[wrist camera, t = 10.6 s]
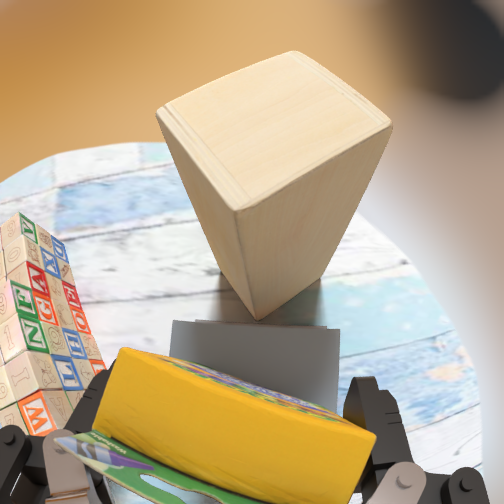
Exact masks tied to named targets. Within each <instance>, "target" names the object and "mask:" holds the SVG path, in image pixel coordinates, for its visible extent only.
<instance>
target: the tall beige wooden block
mask: <svg viewBox="0 0 504 504" xmlns="http://www.w3.org/2000/svg"><path fill="white" fill-rule="evenodd" d="M156 118H157V120H158V123H159V125H160V128H161V131H162V133H163V136H164V138H165V140H166V143H167V145H168V148H169V150H170V153H171V155H172V158H173V160H174V163H175V165H176V167H177V170H178V172H179V175H180V177H181V180H182V182H183V184H184V187H185V189H186V192H187V194H188V196H189V199H190V201H191V203H192V205H193V208H194V210H195V213H196V215H197V217H198V219H199V222H200V224H201V227H202V229H203V231H204V234H205V236H206V238H207V240H208V243H209V245H210V247H211V250H212V252H213V254H214V257H215V259H216V261H217V264H218V266H219V268H220V270H221V271H222V273H223V274H224V276H225V277H226V279H227V280H228V282H229V283H230V285H231V286H232V287H233V289H234V290H235V292H236V293H237V295H238V296H239V297H240V299H241V300H242V302H243V303H244V305H245V306H246V307H247V309H248V310H249V312H250V313H251V315H252V316H253V317H254V319H255V320H256V321H259V320H261V319H263V318H264V317H266V316H267V315H269V314H270V313H271V312H273V311H274V310H276V309H277V308H279V307H280V306H282V305H283V304H284V303H286V302H287V301H289V300H290V299H292V298H293V297H294V296H296V295H297V294H299V293H300V292H301V291H303V290H304V289H306V288H307V287H308V286H310V285H311V284H312V283H314V282H315V281H316V280H318V279H319V278H320V277H321V276H322V275H323V273H324V271H325V269H326V267H327V266H328V264H329V262H330V260H331V258H332V256H333V254H334V252H335V251H336V249H337V246H338V245H339V243H340V241H341V239H342V237H343V235H344V233H345V231H346V229H347V227H348V225H349V223H350V220H351V219H352V217H353V215H354V213H355V211H356V209H357V207H358V204H359V203H360V200H361V198H362V196H363V194H364V192H365V190H366V188H367V186H368V184H369V182H370V180H371V178H372V176H373V173H374V171H375V169H376V167H377V165H378V163H379V160H380V158H381V156H382V154H383V152H384V149H385V147H386V145H387V143H388V140H389V138H390V135H391V133H392V129H393V123H392V121H391V119H389V118H388V117H387V116H386V115H385V114H384V113H383V112H382V111H381V110H379V109H378V108H377V107H376V106H374V105H373V104H372V103H371V102H370V101H368V100H367V99H366V98H365V97H363V96H362V95H361V94H360V93H358V92H357V91H356V90H354V89H353V88H352V87H350V86H349V85H348V84H346V83H345V82H344V81H342V80H341V79H340V78H338V77H337V76H335V75H334V74H333V73H331V72H330V71H328V70H327V69H326V68H324V67H323V66H321V65H320V64H318V63H317V62H316V61H314V60H313V59H311V58H309V57H308V56H306V55H304V54H302V53H301V52H298V51H290V52H287V53H283V54H281V55H278V56H275V57H272V58H269V59H267V60H264V61H261V62H259V63H256V64H253V65H251V66H248V67H246V68H243V69H241V70H238V71H236V72H233V73H231V74H229V75H226V76H224V77H222V78H219V79H217V80H215V81H212V82H210V83H208V84H206V85H204V86H201V87H199V88H197V89H195V90H193V91H191V92H189V93H187V94H185V95H183V96H181V97H179V98H177V99H175V100H173V101H171V102H169V103H167V104H166V105H164V106H162V107H161V108H159V109H158V110H157V111H156Z"/></svg>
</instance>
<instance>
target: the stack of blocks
mask: <svg viewBox="0 0 504 504" xmlns="http://www.w3.org/2000/svg"><path fill="white" fill-rule="evenodd" d="M103 369H106V367H105V364H104V362H103V360H102V357H101V354H100V352H99V349H98V347H97V344H96V342H95V339H94V337H93V335H92V334H91V331H90V329H89V326H88V323H87V320H86V317H85V314H84V312H83V310H82V307H81V304H80V301H79V298H78V294H77V291H76V289H75V282H74V279H73V276H72V272H71V268H70V265H69V262H68V258H67V254H66V250H65V246H64V244H63V243H62V242H60V241H59V240H57V239H56V238H55V237H53V236H52V235H50V234H49V233H48V232H47V231H46V230H44V229H43V228H42V227H40V226H39V225H38V224H34V223H33V222H32V221H31V220H29V219H28V218H27V217H25V216H24V215H23V214H21V213H20V212H18V213H16V214H15V215H14V216H13V217H11V218H10V219H9V220H8V221H6V222H5V223H4V224H3V225H1V227H0V422H1V425H2V427H4V426H6V425H17V426H19V427H20V428H21V429H22V430H23V431H24V433H25V434H26V435H33V436H47V435H48V434H49V433H50V432H52V431H54V430H57V429H63V428H64V426H65V425H66V423H67V421H68V420H69V418H70V416H71V414H72V413H73V411H74V409H75V407H76V406H77V404H78V402H79V400H80V399H81V397H83V394H84V392H85V390H86V389H87V387H88V385H89V384H90V382H91V380H92V379H93V377H94V376H95V375H97V374H98V373H99V372H100V371H102V370H103ZM106 370H107V369H106Z"/></svg>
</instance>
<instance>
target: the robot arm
mask: <svg viewBox="0 0 504 504" xmlns="http://www.w3.org/2000/svg"><path fill="white" fill-rule="evenodd" d="M116 359H117V358H116ZM116 359H115V360H114V361H113V363H112V365H111V366H110V368H109V370H106V369H103V370H102V371H100V372H99V373H98V374H97V375H95V376H94V377H93V379H92V380H91V382H90V384H89V385H88V387H87V389H86V390H85V392H84V394H83V397H81V399H80V400H79V402H78V404H77V406H76V407H75V409H74V411H73V413H72V414H71V416H70V418H69V420H68V421H67V423H66V425H65V426H64V428H63V429H57V430H54V431H52V432H50V433H49V434H48V435H47V436H33V435H26V434H25V433H24V431H23V430H22V429H21V428H20V427H19V426H17V425H6V426H4V427H2V428H1V429H0V504H115V502H114V499H113V496H112V494H111V491H110V488H109V485H108V482H107V479H106V477H105V476H104V475H102V474H100V473H99V472H97V471H95V470H94V469H92V468H91V467H89V466H87V465H86V464H84V463H83V462H81V461H79V460H77V459H76V458H75V457H74V456H73V455H71V454H69V453H68V452H66V451H65V450H63V449H62V448H61V447H59V446H58V445H57V444H56V443H55V442H54V440H53V439H54V438H59V437H68V436H73V435H76V434H81V433H87V432H91V431H92V425H93V423H94V420H95V418H96V414H97V411H98V408H99V405H100V402H101V399H102V397H103V394H104V390H105V388H106V385H107V382H108V379H109V377H110V374H111V372H112V369H113V366H114V364H115V361H116ZM343 418H344V419H346V420H348V421H349V422H351V423H353V424H355V425H357V426H359V427H361V428H363V429H365V430H367V431H369V432H371V433H374V434H375V435H376V437H377V440H376V443H375V444H374V446H373V448H372V450H371V453H370V456H369V458H368V460H367V463H366V466H365V468H364V470H363V472H362V475H361V477H360V480H359V482H358V484H357V486H356V488H355V490H354V492H353V493H362V499H363V501H362V502H361V504H490V503H489V499H488V495H487V491H486V488H485V484H484V481H483V478H482V476H481V474H480V473H479V472H478V471H477V470H475V469H474V468H470V467H463V468H460V469H458V470H456V471H455V472H454V473H453V474H452V475H445V474H433V473H428V472H425V471H423V469H422V468H421V467H420V466H418V465H417V464H415V463H414V461H413V458H412V455H411V451H410V448H409V444H408V440H407V436H406V433H405V429H404V426H403V424H402V419H401V415H400V414H399V409H398V405H397V402H396V400H395V398H394V397H393V396H392V395H391V394H390V392H389V391H388V390H379V388H378V385H377V381H376V379H375V377H374V376H369V377H353V379H352V381H351V384H350V387H349V390H348V393H347V396H346V399H345V402H344V407H343ZM20 472H21V475H20V477H19V479H18V481H17V483H16V485H15V488H14V490H13V492H12V494H11V491H12V489H13V487H14V484H15V482H16V480H17V478H18V476H19V474H20ZM10 494H11V496H10Z"/></svg>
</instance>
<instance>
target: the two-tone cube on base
mask: <svg viewBox="0 0 504 504" xmlns="http://www.w3.org/2000/svg"><path fill="white" fill-rule="evenodd" d="M339 352H340V329H327V326H300V325H273V324H253V323H236V322H222V321H209V320H195V322H188V321H178V320H173V324H172V334H171V344H170V354H169V357H172V358H178V359H182V360H187V361H192V362H196V363H199V364H202V365H205V366H208V367H210V368H213V369H215V370H218V371H220V372H223V373H226V374H228V375H231V376H233V377H236V378H239V379H242V380H245V381H248V382H251V383H254V384H257V385H259V386H262V387H265V388H268V389H271V390H274V391H277V392H280V393H283V394H287V395H290V396H293V397H296V398H299V399H302V400H305V401H309V402H312V403H315V404H319V405H321V406H323V407H325V408H326V409H328V410H330V411H332V412H334V413H335V414H336V411H337V396H338V378H339Z"/></svg>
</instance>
